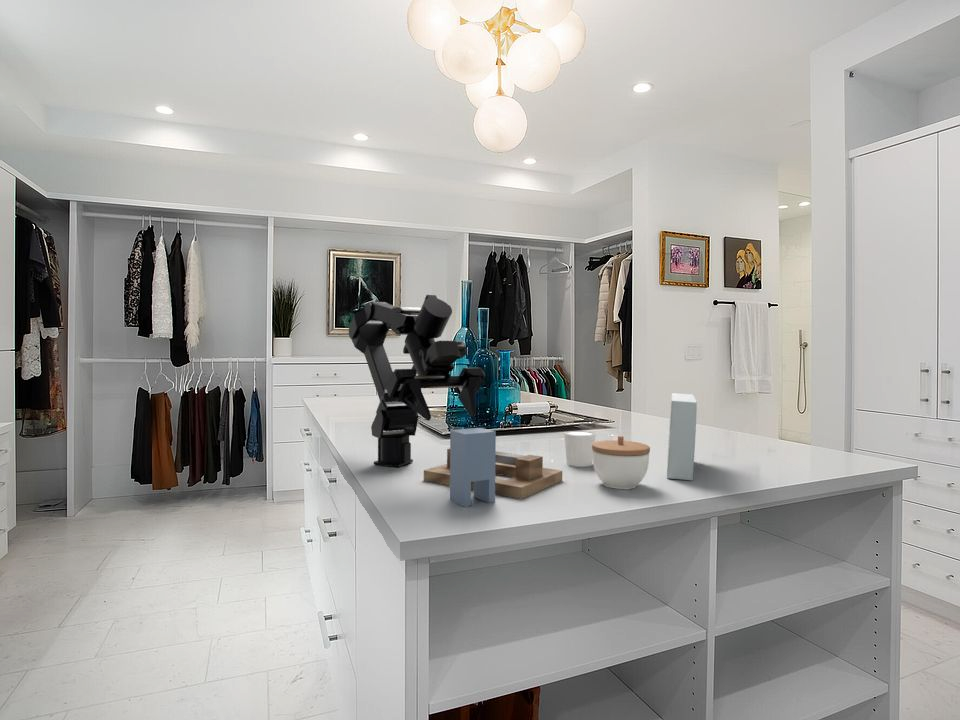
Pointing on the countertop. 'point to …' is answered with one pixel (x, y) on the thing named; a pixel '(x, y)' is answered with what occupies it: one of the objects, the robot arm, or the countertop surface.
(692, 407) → the skincare box
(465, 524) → the countertop surface
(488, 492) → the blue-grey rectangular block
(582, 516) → the countertop surface
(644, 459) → the lidded jar
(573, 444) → the white cup
